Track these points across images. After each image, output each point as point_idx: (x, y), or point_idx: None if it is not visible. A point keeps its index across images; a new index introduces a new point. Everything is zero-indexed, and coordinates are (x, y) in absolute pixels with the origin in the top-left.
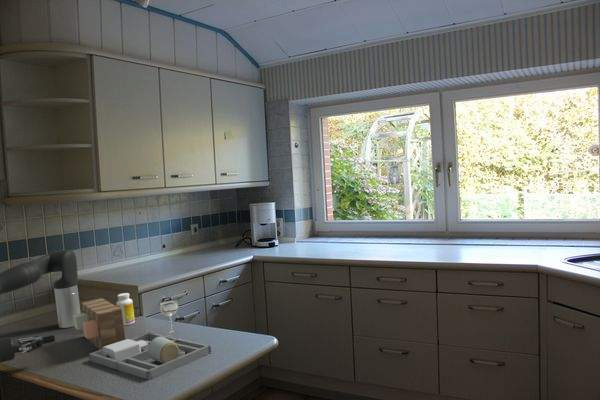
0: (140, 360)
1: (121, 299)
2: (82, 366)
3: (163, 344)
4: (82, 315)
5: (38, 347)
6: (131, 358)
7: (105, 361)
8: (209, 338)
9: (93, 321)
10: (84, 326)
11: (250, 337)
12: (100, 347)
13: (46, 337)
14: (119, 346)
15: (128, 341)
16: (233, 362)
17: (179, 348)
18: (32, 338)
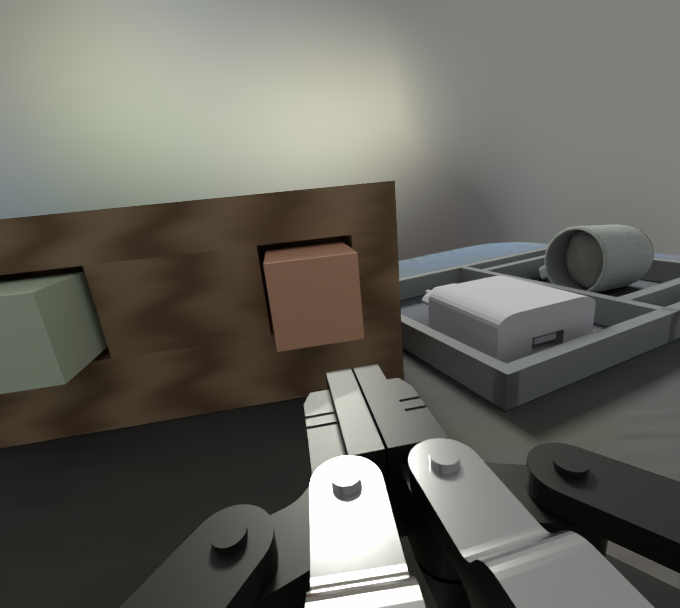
0: None
1: None
2: (600, 433)
3: (634, 229)
4: (51, 282)
5: (649, 586)
6: (630, 294)
7: (618, 344)
8: (438, 267)
9: (305, 249)
10: (321, 273)
11: (473, 250)
12: None
13: (403, 412)
14: (537, 290)
15: (479, 283)
16: None
17: (522, 270)
18: (516, 580)
